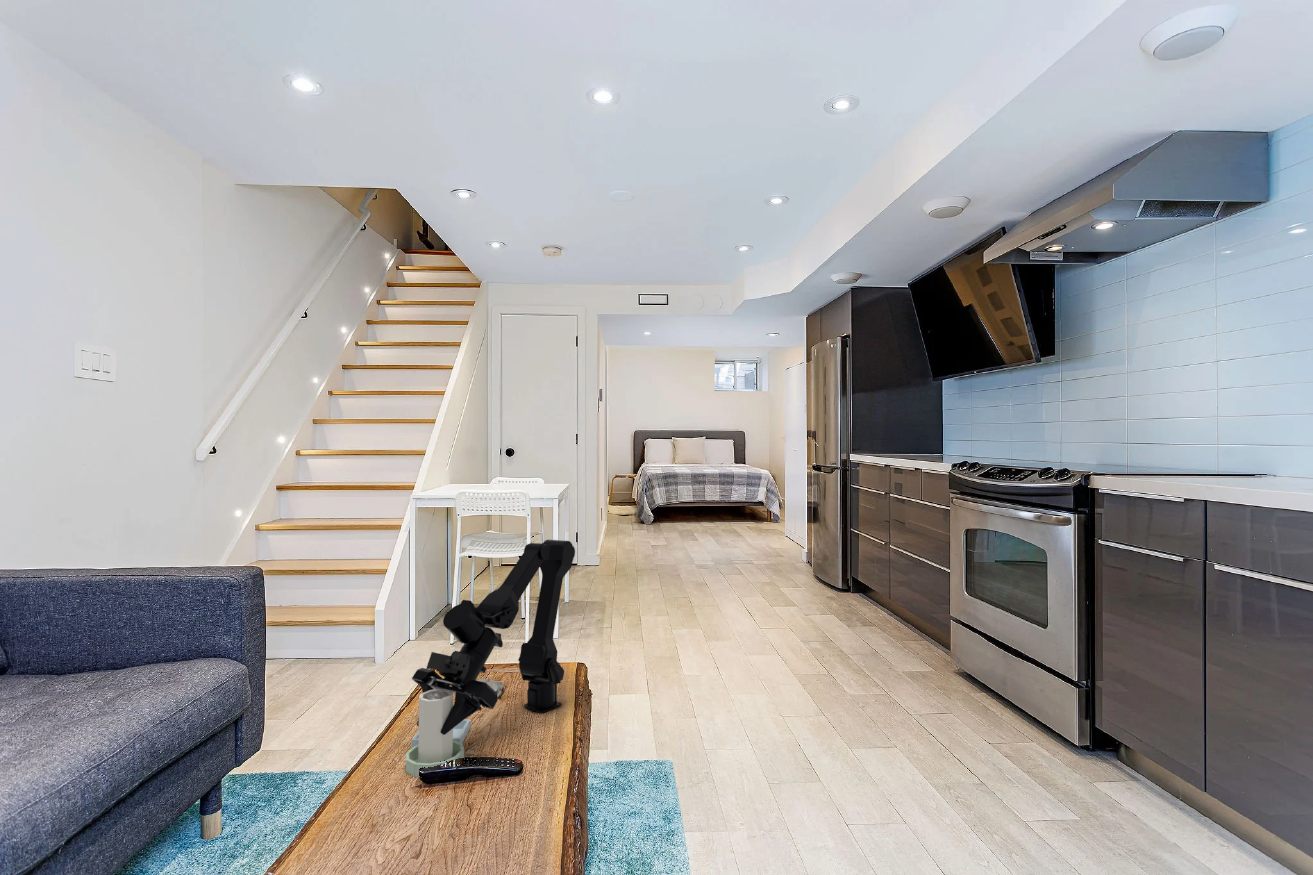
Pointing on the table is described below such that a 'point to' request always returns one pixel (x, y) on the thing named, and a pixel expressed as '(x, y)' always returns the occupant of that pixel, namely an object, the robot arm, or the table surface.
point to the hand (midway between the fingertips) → (430, 730)
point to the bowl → (414, 767)
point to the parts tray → (458, 732)
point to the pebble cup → (434, 726)
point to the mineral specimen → (494, 685)
